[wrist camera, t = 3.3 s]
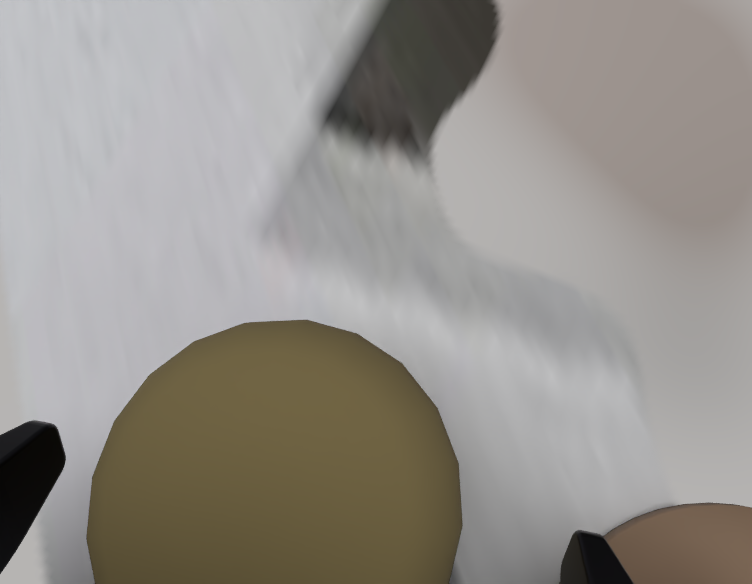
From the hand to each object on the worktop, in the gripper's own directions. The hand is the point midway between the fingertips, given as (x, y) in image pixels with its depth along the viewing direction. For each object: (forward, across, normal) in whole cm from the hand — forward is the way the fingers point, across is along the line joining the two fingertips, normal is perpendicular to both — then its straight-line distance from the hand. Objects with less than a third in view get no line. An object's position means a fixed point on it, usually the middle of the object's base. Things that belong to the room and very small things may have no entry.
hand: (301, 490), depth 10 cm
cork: (+6, 0, +6) cm, 8 cm away
